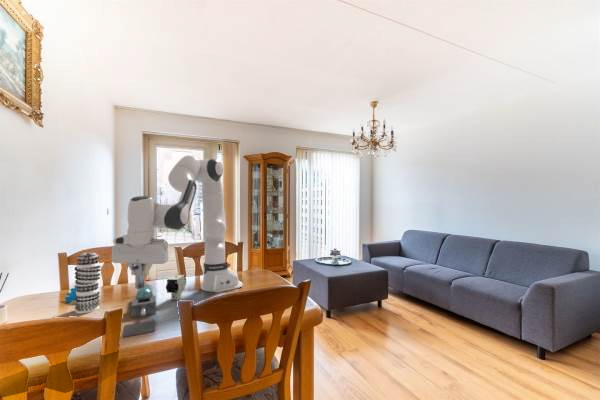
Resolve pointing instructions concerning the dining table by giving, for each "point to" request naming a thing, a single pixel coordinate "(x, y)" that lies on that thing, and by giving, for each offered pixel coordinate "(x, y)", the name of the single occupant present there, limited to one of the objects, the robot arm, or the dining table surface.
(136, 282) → the chuck key
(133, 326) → the mat
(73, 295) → the gear
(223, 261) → the robot arm
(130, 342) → the dining table surface
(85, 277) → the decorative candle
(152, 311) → the grey base teal knob
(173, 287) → the pneumatic valve
